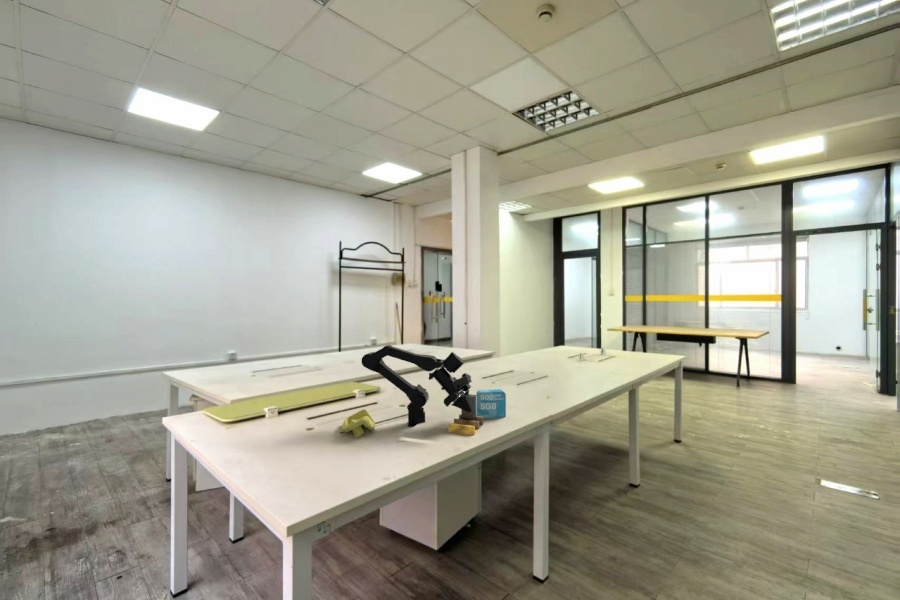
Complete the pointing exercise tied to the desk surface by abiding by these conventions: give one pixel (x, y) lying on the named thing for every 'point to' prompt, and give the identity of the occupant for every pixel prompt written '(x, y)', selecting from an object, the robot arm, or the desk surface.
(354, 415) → the plastic component
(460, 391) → the robot arm
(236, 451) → the desk surface
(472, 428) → the rack
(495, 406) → the data package
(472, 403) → the block
